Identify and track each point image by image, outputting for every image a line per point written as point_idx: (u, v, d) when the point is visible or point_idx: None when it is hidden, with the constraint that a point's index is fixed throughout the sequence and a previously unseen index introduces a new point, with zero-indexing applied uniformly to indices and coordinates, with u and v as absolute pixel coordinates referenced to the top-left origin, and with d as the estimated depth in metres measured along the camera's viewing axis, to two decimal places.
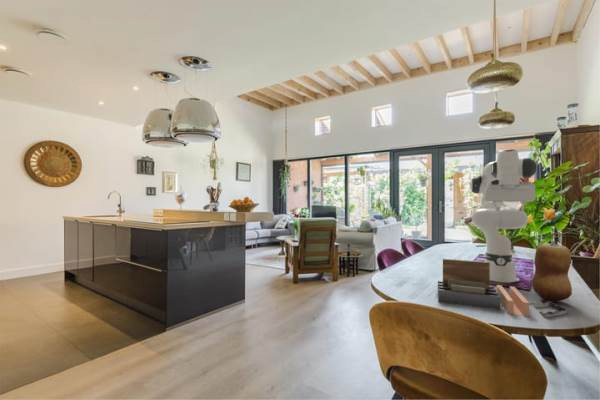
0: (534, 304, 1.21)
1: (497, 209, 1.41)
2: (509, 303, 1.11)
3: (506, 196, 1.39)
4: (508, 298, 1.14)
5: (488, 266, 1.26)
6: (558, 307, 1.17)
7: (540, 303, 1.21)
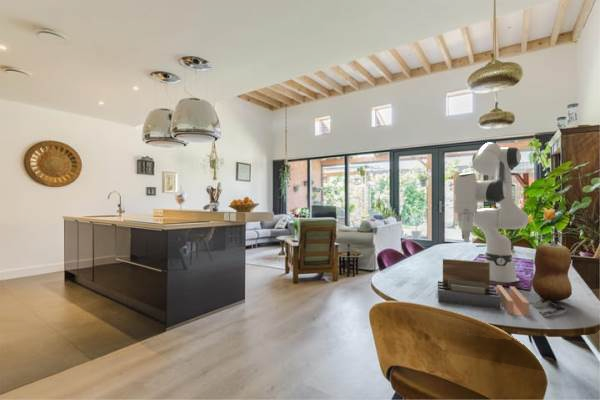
0: (533, 304, 1.21)
1: (462, 237, 1.34)
2: (509, 303, 1.11)
3: (460, 224, 1.31)
4: (508, 298, 1.14)
5: (488, 266, 1.26)
6: (557, 306, 1.18)
7: (539, 303, 1.22)
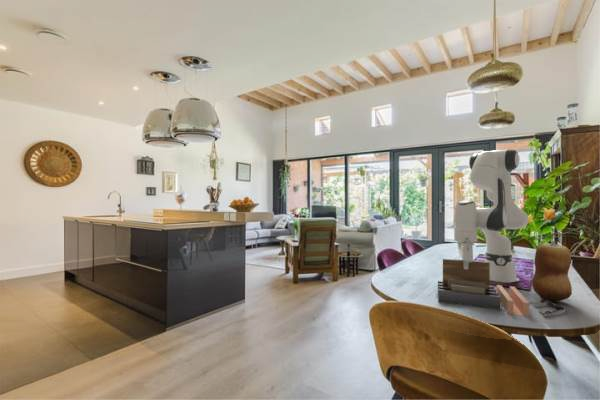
0: (532, 303, 1.21)
1: None
2: (509, 303, 1.11)
3: (460, 252, 1.32)
4: (508, 298, 1.14)
5: (488, 266, 1.26)
6: (556, 306, 1.18)
7: (538, 303, 1.22)
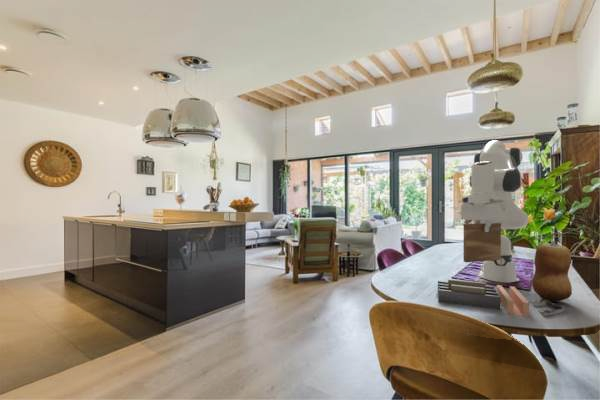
0: (531, 303, 1.22)
1: None
2: (509, 303, 1.11)
3: (476, 215, 1.26)
4: (508, 298, 1.14)
5: (500, 226, 1.27)
6: (555, 305, 1.19)
7: (537, 302, 1.22)
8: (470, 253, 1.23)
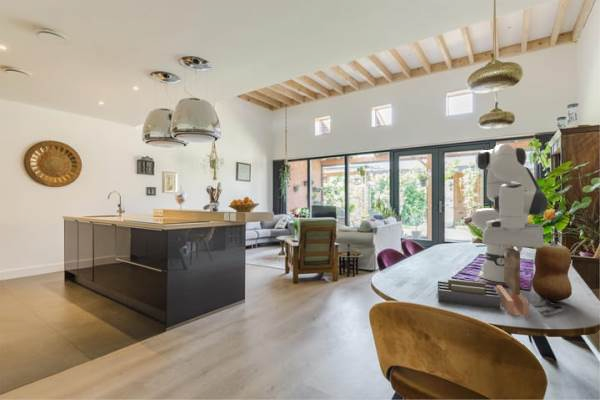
0: (531, 303, 1.22)
1: (507, 255, 1.19)
2: (509, 303, 1.11)
3: (509, 240, 1.18)
4: (508, 298, 1.14)
5: None
6: (554, 305, 1.19)
7: (536, 302, 1.23)
8: None
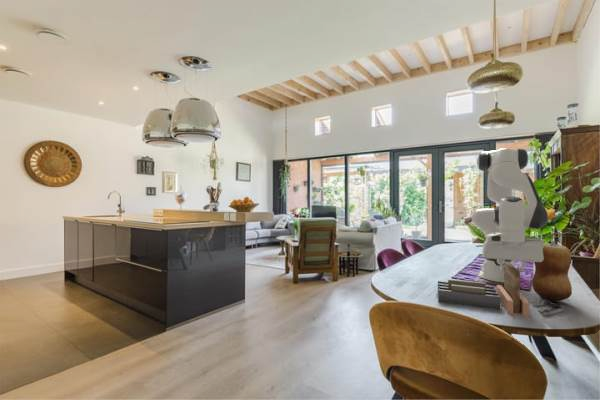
0: (530, 302, 1.23)
1: (503, 269, 1.20)
2: (509, 303, 1.11)
3: (509, 254, 1.18)
4: (508, 298, 1.14)
5: None
6: (554, 305, 1.19)
7: (536, 302, 1.23)
8: None
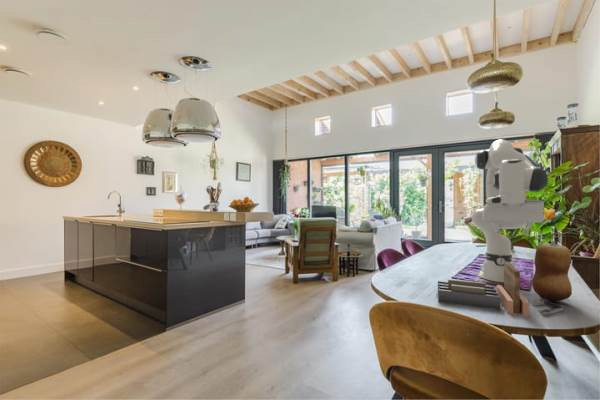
0: (530, 302, 1.23)
1: (498, 231, 1.20)
2: (509, 303, 1.11)
3: (509, 216, 1.18)
4: (508, 298, 1.14)
5: None
6: (554, 304, 1.20)
7: (536, 301, 1.23)
8: None
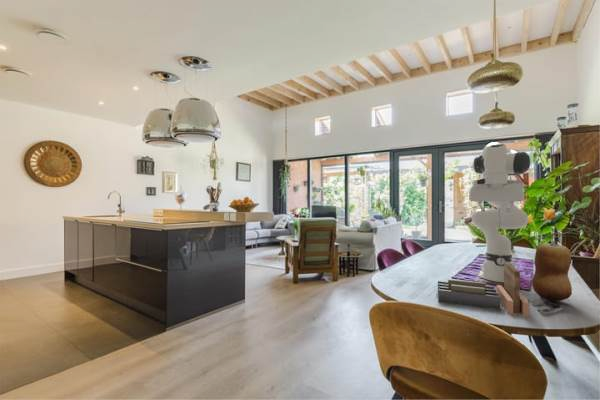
0: (530, 302, 1.23)
1: (483, 210, 1.31)
2: (509, 303, 1.11)
3: (493, 196, 1.28)
4: (508, 298, 1.14)
5: None
6: (553, 304, 1.20)
7: (535, 301, 1.24)
8: None
